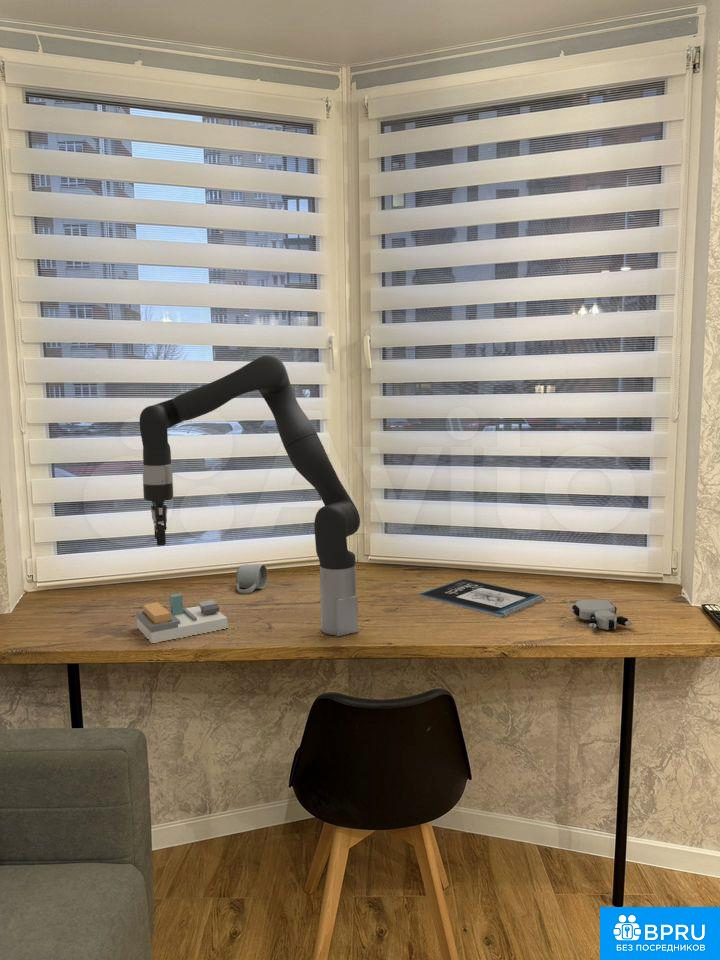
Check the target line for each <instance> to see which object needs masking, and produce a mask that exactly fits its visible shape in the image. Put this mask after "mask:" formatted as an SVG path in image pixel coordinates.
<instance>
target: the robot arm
mask: <svg viewBox="0 0 720 960" xmlns="http://www.w3.org/2000/svg"><path fill="white" fill-rule="evenodd" d="M284 364H285V363H283V361H282V360H281V359H280V358H279V357H277V356H276V355H272V354H265V355H262V356H260V357H258V358H255V359H254V360H252V361H250V362H249V363H247V364H246V365H243V366H241V367H240V368H238V369H236V370H234V371H233V372H231V373H229V374H227V375H225V376H223V377H220V378H219V379H216V380H214V381H211V382H210V383H207V384H204V385H201V386H199V387H196V388H194V389H191V390H188V391H185V392H183V393H181V394H179V395H177V396H176V397H173V398H171V399H168V400H165V401H162V402H158V403H155V404H153V405H149V406H148V405H147V406H146V407H145V408H143V409H142V411H141V413H140V415H139V431H140V437H141V438H140V439H141V442H142V462H143V465H142V487H143V488H142V489H143V492H142V493H143V499H144V500H145V501H147V502H151V504H152V505H150V512H151V519H152V524H153V527H154V528H153V529H154V538H155V540H156V546H158V547H160V546H166V540H167V539H166V538H167V537H166V531H167V528H168V527H167V522H168V514H167V513H168V506H167V505H166V504H165V501H170V500H172V499H174V482H173V481H174V480H173V468H172V452H171V446H170V444H169V440H168V439H169V438H168V429H169V428H171V427H174V426H176V425H179V424H180V423H181V424H182V422H185V421H186V422H187V421H191V420H194V419H196V418H199V417H201V416H205V415H207V414H209V413H212V412H213V411H215V410H217V409H219V408H220V407H222V406H224V405H225V404H227V403H228V402H230V401H232V400H233V399H235V398H237V397H239V396H241V395H245V394H247V393H250V392H254V391H258V392H259V393H260V395H261V396H262V398H263V400H264V401H265V403H266V404H267V406H268V408H269V410H270V411H271V414H272V415H273V418H274V421H275V424H276V428H277V432H278V434H279V438H280V440H281V442H282V444H283V448H284V450H285V452H286V454H287V456H288V459H289V460H290V462H291V465H292V466H293V467H294V469H295V470H296V471H297V472H298V473H299V474H300V475H301V476H302V477H303V478H304V479H305V480H306V481H307V482H308V483H310V484H309V485H311V486H312V487H313V488H314V489H315V491H316V492H317V493H318V495H319V497H320V499H321V501H322V502H323V505H324V506H322V507H320V508H319V509H318V510H317V512H316V514H315V517H314V522H313V523H314V527H313V528H314V541H315V553H316V555H317V559H318V561H319V582H320V583H319V587H320V588H319V591H320V618H321V619H320V620H321V621H320V623H321V631H322V632H323V633H324V634H327V635H332V636H336V637H340V636H346V635H350V633H351V634H354V633H358V632H359V614H358V613H359V610H358V609H359V608H358V607H359V606H358V605H359V604H358V596H357V577H356V575H357V573H356V572H357V570H356V568H357V567H356V563H357V561H356V554H355V553H354V552H352V551H350V550H349V549H348V542H347V540H348V539H347V538H348V537H350V536H352V535H354V534H355V533H356V532H357V531H358V530H359V528H360V525H361V517H360V514H359V510H358V508H357V506H356V504H355V503H354V502H353V499H351V496H350V495H349V493H348V492H347V491H346V489H345V487H344V485H343V484H342V482H341V481H340V478H339V476H338V474H337V472H336V470H335V468H334V466H333V463H332V462H331V461H330V458H329V456H328V454H327V452H326V449H325V447H324V445H323V444H322V441H321V439H320V437H319V435H318V432H317V431H316V429H315V427H314V425H313V424H312V422H311V421H310V419H309V417H308V416H307V414H306V413H305V412H304V410H303V409H302V408H301V406H300V405H299V402H298V400H297V398H296V395H295V392H294V390H293V387H292V385H291V381H290V378H289V374H288V370H287V369H286V366H285V365H284Z"/></svg>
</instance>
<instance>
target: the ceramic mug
mask: <svg viewBox="0 0 720 960" xmlns="http://www.w3.org/2000/svg"><path fill="white" fill-rule="evenodd" d="M268 575H269V574H268V569H267V566H266V565H265V564H264V563H258V564H257V563H255V564H242V565H239V566H238V567H237V570H236V573H235V581H236V588H237V591H238V593H240V594H244V595H246V594H250V593H253V591H255V590H263V589H265V588H266V586H267V583H268V579H269V578H268ZM241 588H243V589H241Z"/></svg>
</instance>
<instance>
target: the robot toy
mask: <svg viewBox="0 0 720 960" xmlns="http://www.w3.org/2000/svg"><path fill="white" fill-rule="evenodd" d="M566 603H567V606H569V609H570V610H571V612H572V613H573V614H574V615H575V616H576V617H578V618H579V619H581V620H583V621H588V627H589V628H592V629H596V628H597V627H598V629H599V630H612V629H613V630H616V629H617V624H618V625H620V626H622V627H627V626H628V627H630V626H633V622H632V621H631V620H629V619H628V618H626V617H624V616H621V615H620V616H617V615H616V614H617V610H618V607H617V606H616V605H615V604H614V603H613V601H612V600H611V599H609V600H605V599H599V598H598V599H595V598H594V599H593V598H592V599H591V598H590V599H583V600H577V601H576V602H574V603H573V605H572V606H571V605H570V602H569V601H567V602H566Z"/></svg>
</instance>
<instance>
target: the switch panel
mask: <svg viewBox="0 0 720 960" xmlns="http://www.w3.org/2000/svg"><path fill="white" fill-rule="evenodd" d="M166 610H167V611H168V612H169V613H170V617H171V621H168V622H162V623H157V624H155V623H154V622H153V621H152V620H151V619H150V618H149V617H148V616H147V615H146V614H145V613H144V612H143V610H139V611H136V628H139V630H140V631H141V632H142V633H143V634H144V635H145V636H146V637H147V638H148V639H149V641H150V642H151V643H155V642H159V641H164V640H169V639H176V638H181V639H184V638H183V637H186V636H191V637H193V636H192V635H196V636H198V635H197V634H201V635H203V634H202V633H205V634H208V633H207V632H210V633H212V632H211V631H215V632H217V631H216V630H220V631H222V630H221V629H225V630H227V629H226V628H228V629H229V626H228V624H229V623H228V617H227V616H226V615H224V614H223V613H222V612H220V611H219V612H215V613H210V614H204V613H201V609H200V607H199V605H197V606H192V607H187V608H186V607H184V606H183V614H177V615H173V614H172V613H171V610H169V609H166ZM139 630H138V631H139ZM140 631H139V632H140ZM141 632H140V633H141ZM142 633H141V634H142ZM143 634H142V635H143ZM144 635H143V636H144ZM145 636H144V637H145ZM186 638H187V637H186ZM176 640H177V639H176ZM149 641H148V642H149ZM150 642H149V643H150ZM151 643H150V644H151Z"/></svg>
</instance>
